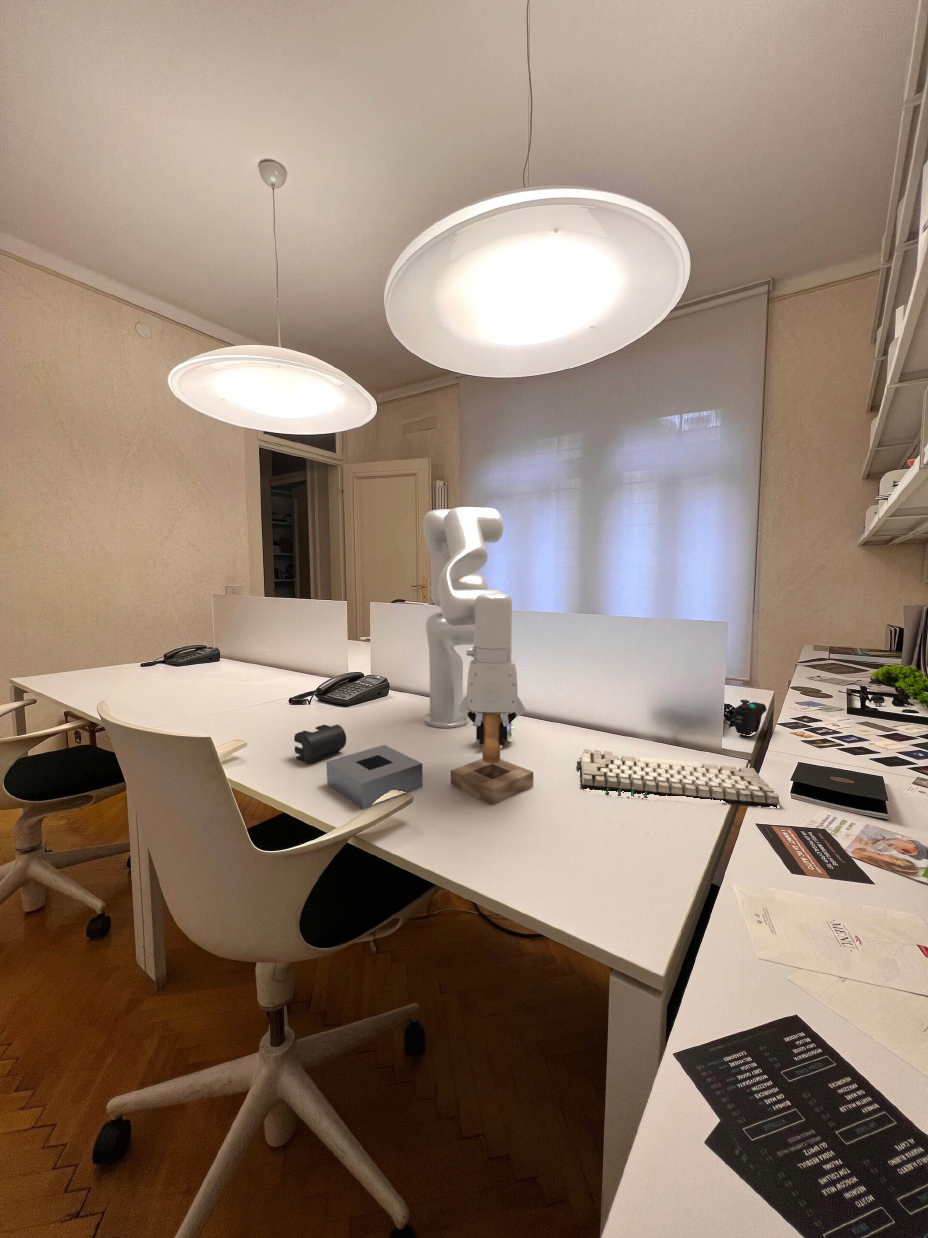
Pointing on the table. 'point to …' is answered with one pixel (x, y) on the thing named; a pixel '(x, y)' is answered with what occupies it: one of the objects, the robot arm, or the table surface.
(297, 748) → the end cap
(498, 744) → the pin
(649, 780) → the mechanical keyboard
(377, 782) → the socket block
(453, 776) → the frame
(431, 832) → the table surface
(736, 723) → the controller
